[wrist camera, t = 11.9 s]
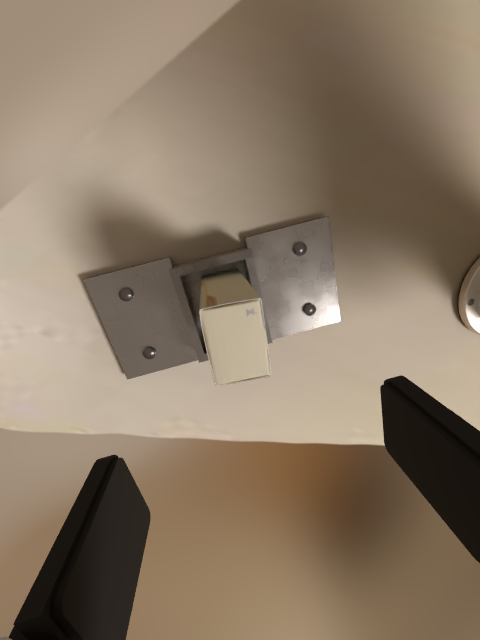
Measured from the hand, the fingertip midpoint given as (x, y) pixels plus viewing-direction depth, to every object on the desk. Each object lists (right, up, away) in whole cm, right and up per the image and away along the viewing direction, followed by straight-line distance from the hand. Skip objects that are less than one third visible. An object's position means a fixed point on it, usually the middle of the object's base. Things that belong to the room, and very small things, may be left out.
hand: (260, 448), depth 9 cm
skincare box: (-2, +7, +20) cm, 22 cm away
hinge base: (-3, +7, +20) cm, 22 cm away
